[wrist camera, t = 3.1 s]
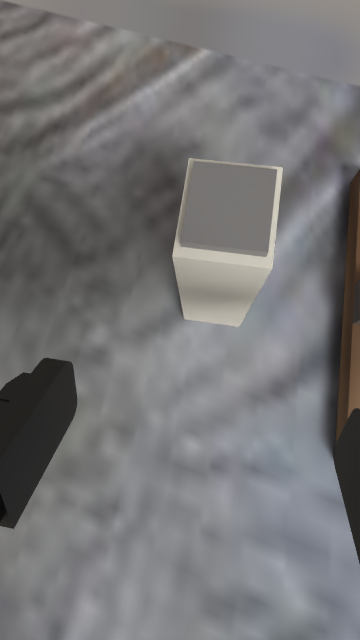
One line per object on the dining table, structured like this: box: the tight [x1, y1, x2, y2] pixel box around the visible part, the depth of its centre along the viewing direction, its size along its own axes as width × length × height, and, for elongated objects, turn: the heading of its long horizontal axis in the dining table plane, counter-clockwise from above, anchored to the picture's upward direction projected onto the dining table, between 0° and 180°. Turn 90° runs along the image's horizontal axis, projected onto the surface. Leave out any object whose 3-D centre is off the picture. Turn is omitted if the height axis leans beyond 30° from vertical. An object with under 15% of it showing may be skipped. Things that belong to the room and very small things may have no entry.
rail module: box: [172, 158, 283, 327], centre depth 17 cm, size 4×4×10 cm
